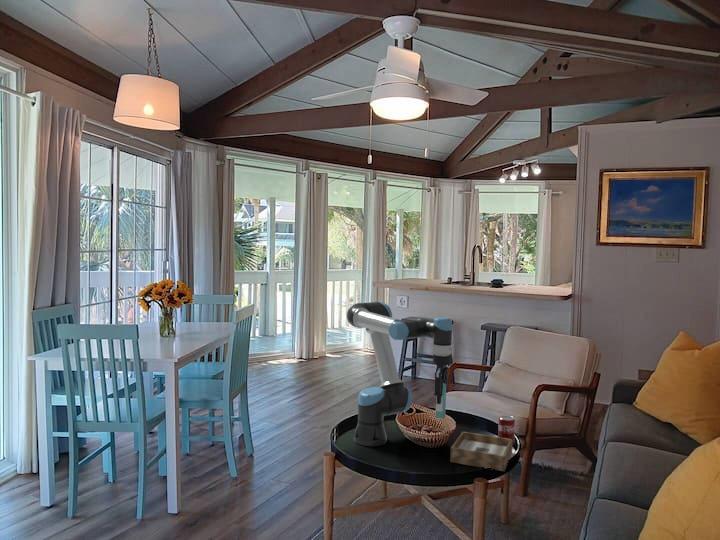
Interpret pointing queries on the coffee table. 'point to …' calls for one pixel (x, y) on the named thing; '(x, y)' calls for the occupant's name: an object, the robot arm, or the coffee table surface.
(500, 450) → the wooden box with hole
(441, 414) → the teal peg
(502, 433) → the soda can
